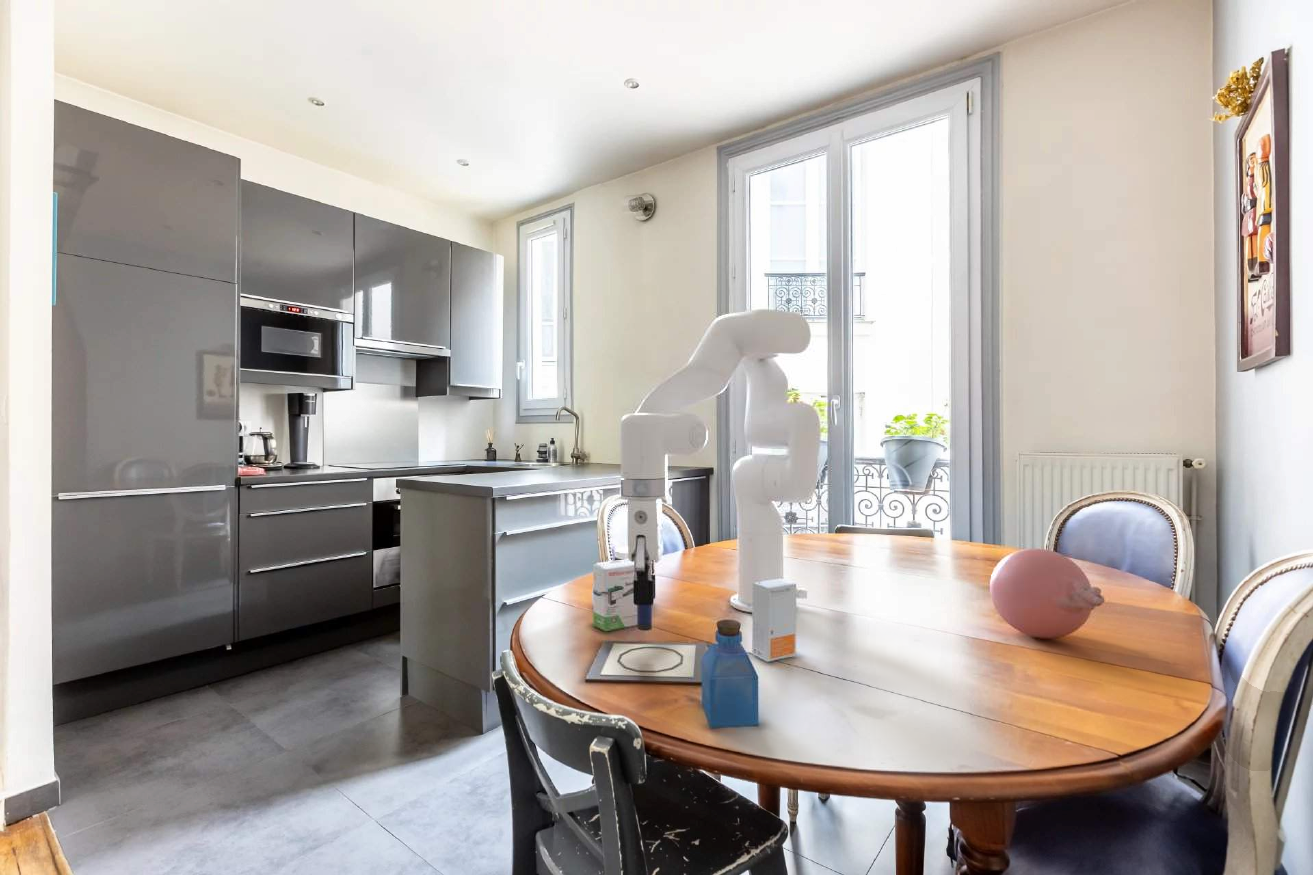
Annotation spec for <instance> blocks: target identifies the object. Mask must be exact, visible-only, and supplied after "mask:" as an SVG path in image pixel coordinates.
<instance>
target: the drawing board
mask: <svg viewBox="0 0 1313 875" xmlns="http://www.w3.org/2000/svg"><path fill="white" fill-rule="evenodd" d="M707 650H708V643H707V642H677V641H676V642H675V641H673V642H672V641H671V642H670V641H629V640H627V641H626V640H623V641H622V640H603V642H602V644H601V646H600V649H599V650H598V652H597V654H596V656H595V659H594V661H593V662H592V664H591V666H590V669H589V670H588V673H587V675H586V677H585V679H584V681H585V682H592V683H593V682H595V683H626V684H627V683H630V684H660V685H661V684H663V685H664V684H665V685H695V686H696V685H700V686H702V658H703V657H704V655H705V653H706V652H707Z"/></svg>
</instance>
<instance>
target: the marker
mask: <svg viewBox="0 0 1313 875" xmlns="http://www.w3.org/2000/svg"><path fill="white" fill-rule="evenodd" d="M647 567H648V566H647ZM636 626H637V630H638V631H642V632H647V631H651V630H652V629H653V605H637V625H636Z"/></svg>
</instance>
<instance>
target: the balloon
mask: <svg viewBox="0 0 1313 875" xmlns="http://www.w3.org/2000/svg"><path fill="white" fill-rule="evenodd" d="M1101 593H1102V589H1101V588H1100V587H1097V586H1092V585H1091V583H1090V580H1089V578H1088V577H1087V575H1086V573H1085V572H1084V571H1083V569H1082V568H1080V566H1079V565H1078V564H1077V563H1075V562H1074V561H1073V560H1072V559H1071V558H1069V557H1067V556H1065V555H1063V554H1061V553H1059V552H1056V551H1053V550H1051V549H1045V548H1036V547H1035V548H1034V547H1033V548H1024V549H1020V550H1017V551H1014V552H1012V553H1010V554H1008V555H1007V556H1005V557H1004V558H1002V559H1001V560H1000V561H999V563H997V565H996V566H995V567H994V569H993V571H992V574H991V577H990V581H989V594H990V598H991V601H992V604H993V606H994V609H995V610H996V612H997V614H998V615H999V616H1000V617H1001V618H1002V619H1003V620H1004V622H1005V623H1007V624H1008V625H1009V626H1010V627H1012V628H1014V629H1015V630H1017V631H1019V632H1020V633H1022V634H1025V635H1027V636H1030V637H1033V638H1039V639H1058V638H1062V637H1066V636H1069V635H1071V634H1073V633H1075V632H1076V631H1078V630H1079V629H1080V628H1082V627H1083V626H1084V624H1086V622H1087V620H1088V619H1089V617H1090V615H1091V613H1092V611H1094V610H1095V608H1096V607H1100V606H1103V604H1104V603H1105V600H1106V599H1105V597H1104V596H1103V595H1101Z"/></svg>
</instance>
